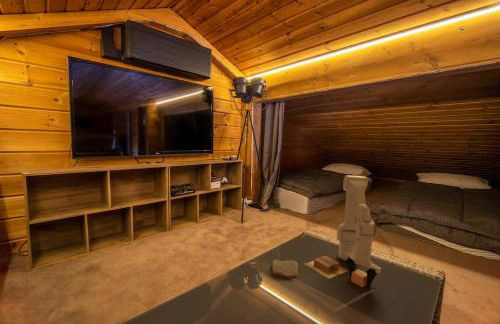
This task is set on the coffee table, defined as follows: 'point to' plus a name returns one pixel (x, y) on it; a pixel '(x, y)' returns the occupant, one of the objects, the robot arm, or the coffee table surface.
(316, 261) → the walnut slab
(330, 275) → the plate
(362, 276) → the terracotta cube
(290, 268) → the stone block
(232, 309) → the coffee table surface
